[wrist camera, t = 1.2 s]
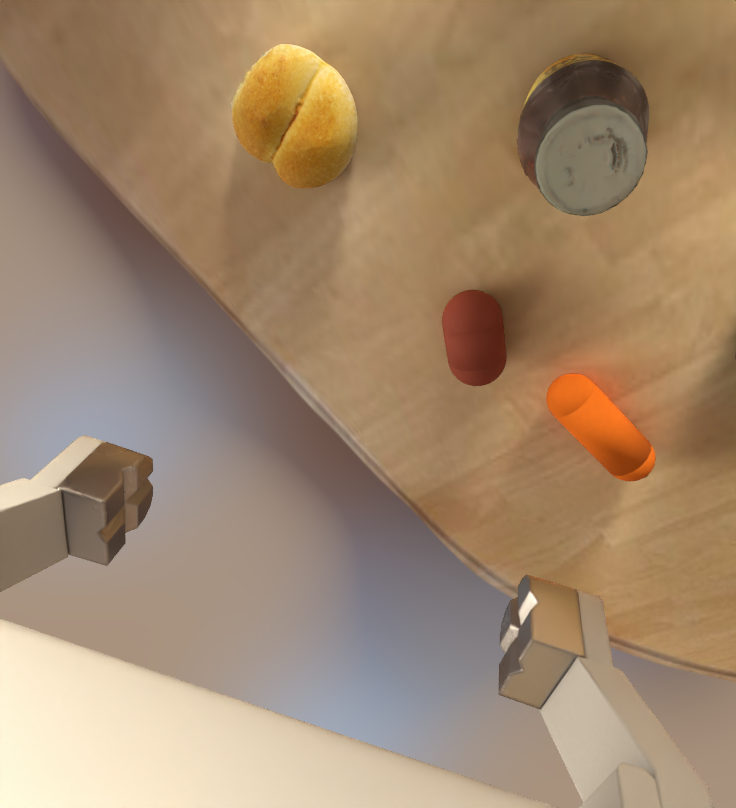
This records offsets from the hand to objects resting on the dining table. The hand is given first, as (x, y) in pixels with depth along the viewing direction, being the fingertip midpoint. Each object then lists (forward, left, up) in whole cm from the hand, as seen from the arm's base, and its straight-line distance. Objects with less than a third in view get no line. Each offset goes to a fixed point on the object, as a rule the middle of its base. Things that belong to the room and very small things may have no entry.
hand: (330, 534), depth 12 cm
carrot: (+9, +21, -36) cm, 42 cm away
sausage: (+9, +8, -36) cm, 38 cm away
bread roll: (+4, -12, -36) cm, 38 cm away
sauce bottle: (-7, +3, -36) cm, 37 cm away
